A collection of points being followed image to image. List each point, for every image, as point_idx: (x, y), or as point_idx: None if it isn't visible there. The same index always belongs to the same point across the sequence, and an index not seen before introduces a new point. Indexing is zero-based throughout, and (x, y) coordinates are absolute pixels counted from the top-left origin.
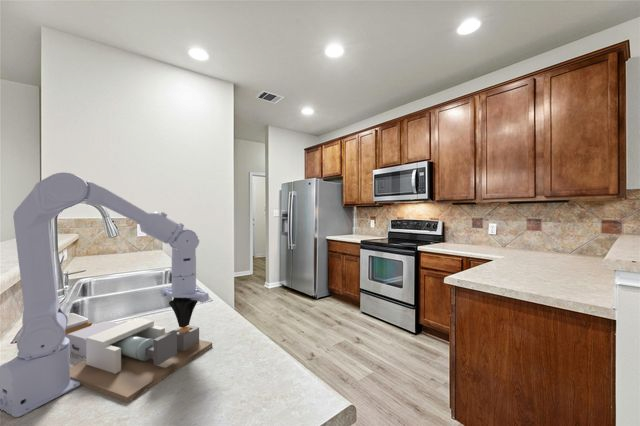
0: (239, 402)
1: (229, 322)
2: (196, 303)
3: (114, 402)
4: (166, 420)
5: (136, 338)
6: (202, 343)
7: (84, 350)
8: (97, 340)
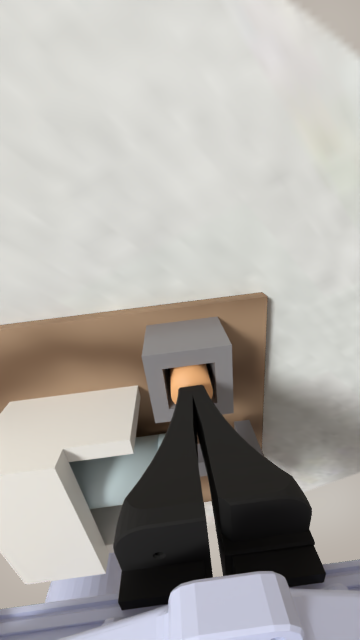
0: None
1: (149, 33)
2: (271, 462)
3: None
4: (353, 474)
5: (121, 500)
6: (237, 317)
7: None
8: (78, 576)
